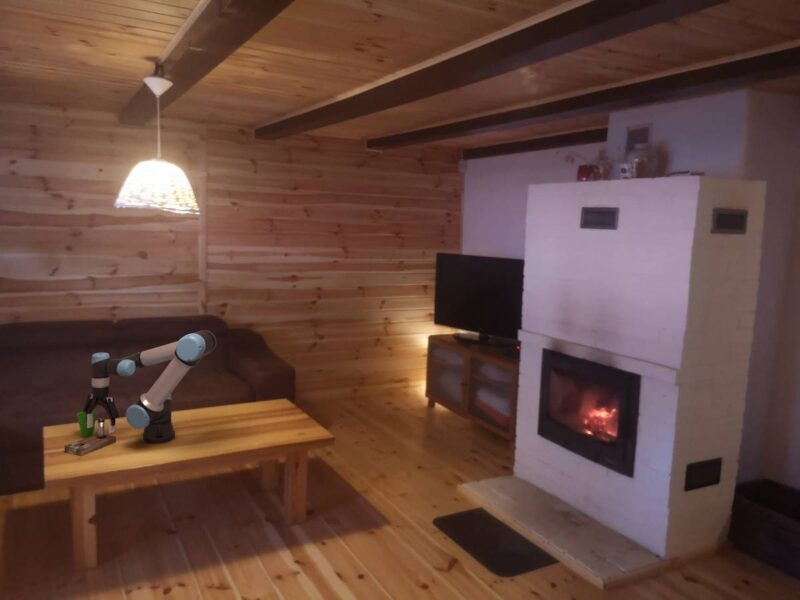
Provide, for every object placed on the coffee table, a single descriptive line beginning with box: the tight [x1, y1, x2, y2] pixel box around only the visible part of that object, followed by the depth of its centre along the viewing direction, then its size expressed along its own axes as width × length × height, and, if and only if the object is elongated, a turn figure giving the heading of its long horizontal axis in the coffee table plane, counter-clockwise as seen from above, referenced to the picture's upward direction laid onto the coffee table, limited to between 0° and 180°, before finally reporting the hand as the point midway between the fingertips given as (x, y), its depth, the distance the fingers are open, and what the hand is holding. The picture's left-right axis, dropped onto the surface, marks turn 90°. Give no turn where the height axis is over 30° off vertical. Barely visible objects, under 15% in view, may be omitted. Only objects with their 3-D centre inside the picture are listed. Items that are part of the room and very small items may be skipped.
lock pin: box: [97, 417, 106, 439], centre depth 298 cm, size 3×3×12 cm
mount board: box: [63, 433, 117, 457], centre depth 293 cm, size 10×20×3 cm, turn 158°
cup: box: [76, 410, 98, 438], centre depth 308 cm, size 9×9×11 cm
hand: (100, 429), depth 298 cm, fingers open, 13 cm apart
